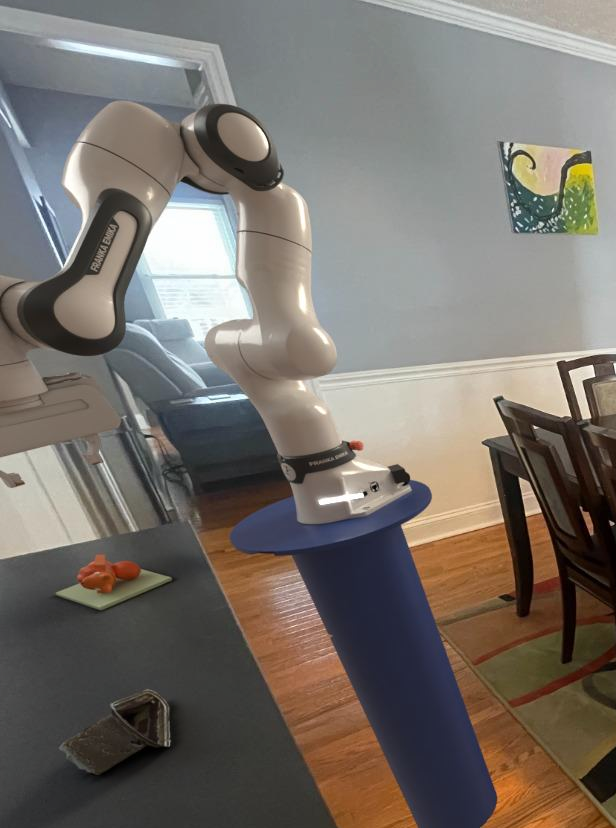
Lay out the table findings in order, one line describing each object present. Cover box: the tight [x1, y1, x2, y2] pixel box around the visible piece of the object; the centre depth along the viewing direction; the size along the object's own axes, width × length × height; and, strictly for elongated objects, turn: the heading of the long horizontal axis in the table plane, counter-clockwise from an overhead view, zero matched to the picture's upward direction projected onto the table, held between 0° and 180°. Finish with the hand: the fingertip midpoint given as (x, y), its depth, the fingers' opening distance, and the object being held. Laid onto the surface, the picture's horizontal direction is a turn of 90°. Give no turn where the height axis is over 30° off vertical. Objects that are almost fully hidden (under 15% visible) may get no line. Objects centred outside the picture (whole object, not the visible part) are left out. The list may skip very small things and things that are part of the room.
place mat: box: [55, 568, 173, 611], centre depth 103 cm, size 10×14×1 cm
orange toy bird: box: [76, 554, 142, 593], centre depth 102 cm, size 5×8×12 cm
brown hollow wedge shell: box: [58, 688, 172, 776], centre depth 68 cm, size 10×7×12 cm
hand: (58, 474), depth 93 cm, fingers open, 8 cm apart
